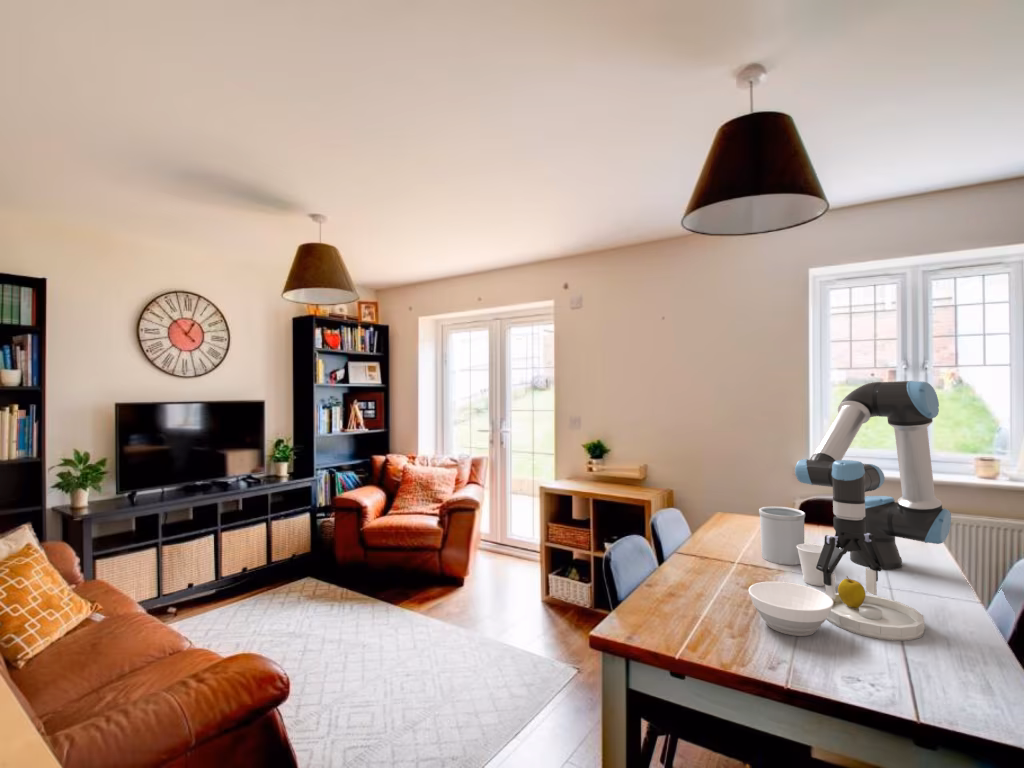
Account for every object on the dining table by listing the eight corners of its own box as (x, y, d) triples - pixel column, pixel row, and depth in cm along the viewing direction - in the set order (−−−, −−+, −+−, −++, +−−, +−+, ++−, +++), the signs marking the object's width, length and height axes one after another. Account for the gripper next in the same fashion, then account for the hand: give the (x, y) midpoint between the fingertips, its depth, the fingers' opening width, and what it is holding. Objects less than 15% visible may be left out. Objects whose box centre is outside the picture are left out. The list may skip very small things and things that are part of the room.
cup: (838, 589, 159) (837, 553, 159) (803, 587, 161) (802, 552, 161) (826, 578, 169) (825, 544, 169) (792, 576, 171) (792, 542, 171)
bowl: (834, 652, 121) (833, 616, 121) (743, 633, 131) (743, 600, 131) (834, 621, 137) (833, 589, 138) (754, 606, 148) (753, 576, 148)
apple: (838, 600, 148) (838, 572, 148) (866, 605, 144) (865, 576, 144) (837, 607, 143) (836, 578, 143) (865, 613, 139) (864, 583, 139)
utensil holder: (810, 567, 179) (809, 516, 180) (763, 563, 184) (761, 514, 184) (801, 554, 193) (800, 507, 193) (757, 551, 198) (756, 505, 198)
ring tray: (871, 601, 150) (871, 589, 150) (947, 636, 128) (947, 623, 128) (803, 607, 146) (802, 595, 146) (869, 644, 124) (869, 631, 125)
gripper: (875, 511, 150) (877, 586, 149) (800, 516, 146) (802, 593, 145) (899, 517, 142) (901, 596, 142) (820, 522, 138) (822, 603, 138)
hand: (851, 595), depth 143 cm, fingers open, 12 cm apart
